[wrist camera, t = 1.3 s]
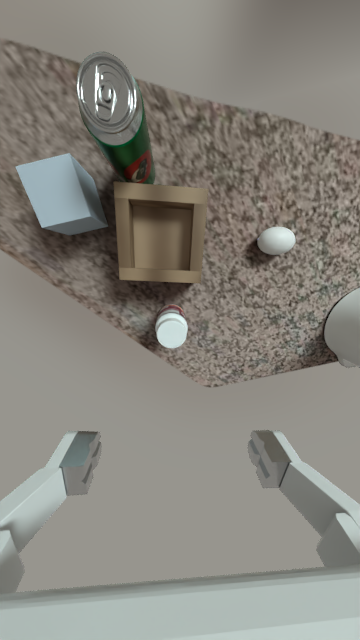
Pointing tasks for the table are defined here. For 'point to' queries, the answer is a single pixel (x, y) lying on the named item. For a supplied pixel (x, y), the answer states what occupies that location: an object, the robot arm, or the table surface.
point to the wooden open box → (160, 232)
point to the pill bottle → (171, 326)
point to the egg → (276, 240)
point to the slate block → (62, 195)
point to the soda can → (115, 116)
